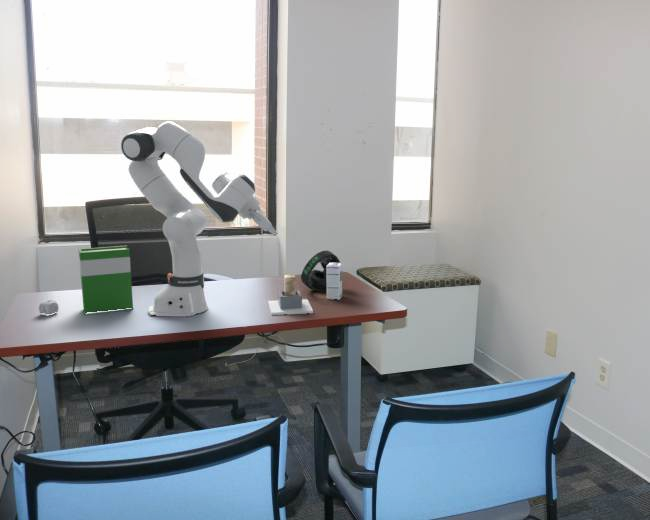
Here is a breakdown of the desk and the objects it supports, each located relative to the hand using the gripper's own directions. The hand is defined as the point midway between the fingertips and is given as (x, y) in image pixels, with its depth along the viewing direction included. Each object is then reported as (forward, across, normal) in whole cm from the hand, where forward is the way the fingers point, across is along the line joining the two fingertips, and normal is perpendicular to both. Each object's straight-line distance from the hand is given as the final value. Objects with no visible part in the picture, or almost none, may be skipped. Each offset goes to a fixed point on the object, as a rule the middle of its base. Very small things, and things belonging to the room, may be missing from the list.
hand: (274, 231), depth 240 cm
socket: (+25, -3, +18) cm, 31 cm away
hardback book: (-24, +10, +67) cm, 72 cm away
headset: (+39, +24, +5) cm, 46 cm away
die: (-39, +8, +82) cm, 91 cm away
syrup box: (+40, +8, +3) cm, 41 cm away
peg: (+24, -3, +17) cm, 30 cm away
